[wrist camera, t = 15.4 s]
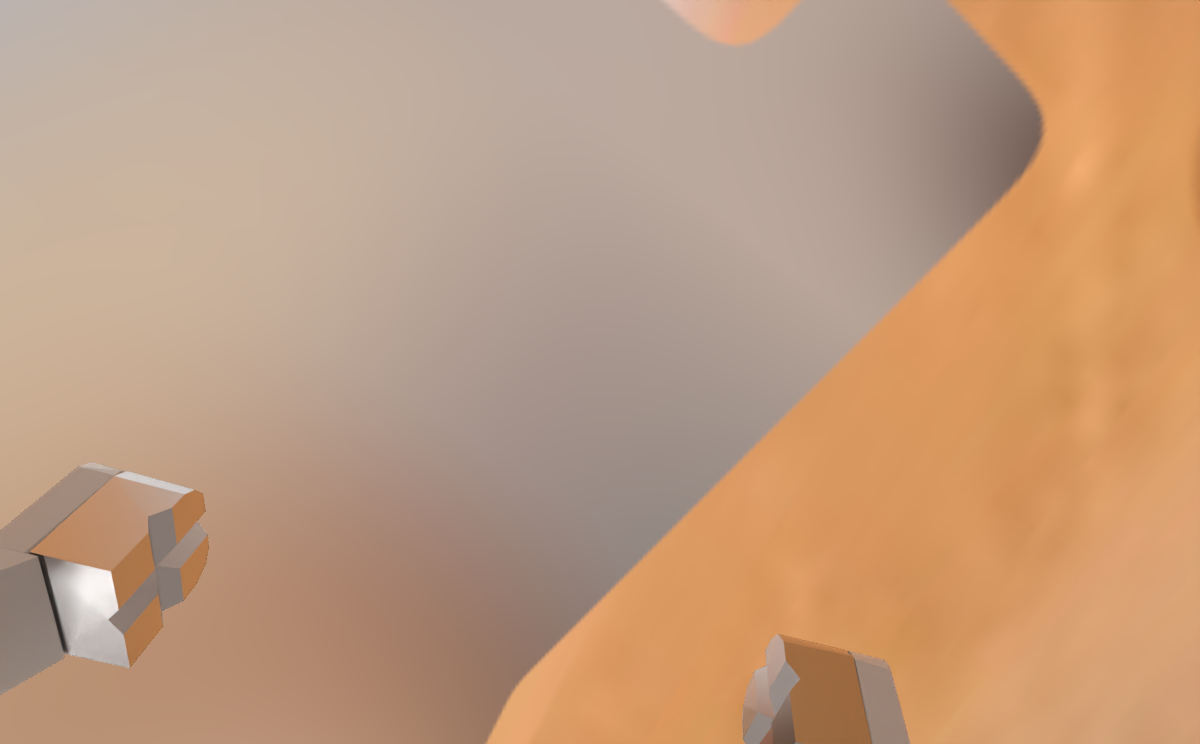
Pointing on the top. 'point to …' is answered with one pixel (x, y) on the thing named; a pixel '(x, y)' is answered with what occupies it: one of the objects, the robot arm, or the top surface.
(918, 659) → the top surface
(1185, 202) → the top surface
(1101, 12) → the top surface
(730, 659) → the top surface
